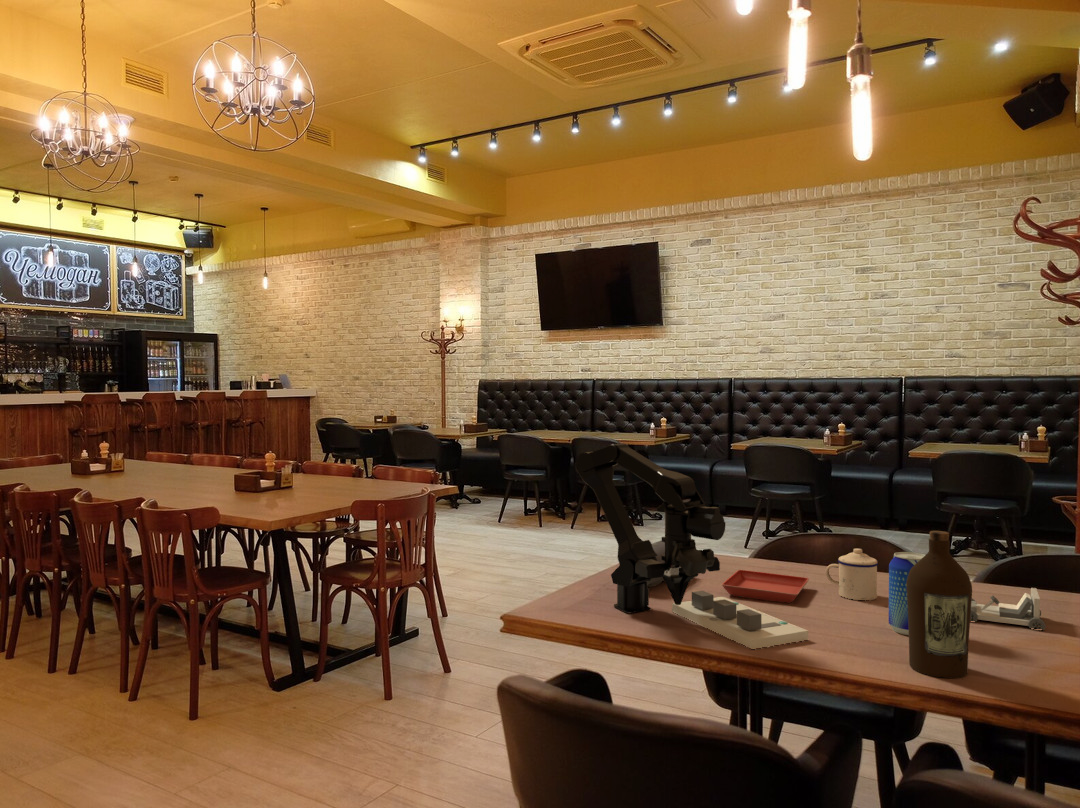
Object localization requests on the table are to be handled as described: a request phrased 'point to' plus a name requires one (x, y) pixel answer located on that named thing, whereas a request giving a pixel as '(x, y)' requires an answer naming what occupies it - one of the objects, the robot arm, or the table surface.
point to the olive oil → (939, 612)
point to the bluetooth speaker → (659, 550)
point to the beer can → (900, 589)
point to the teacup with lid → (856, 576)
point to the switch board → (768, 635)
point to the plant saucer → (764, 585)
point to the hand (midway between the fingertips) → (677, 604)
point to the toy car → (1011, 611)
